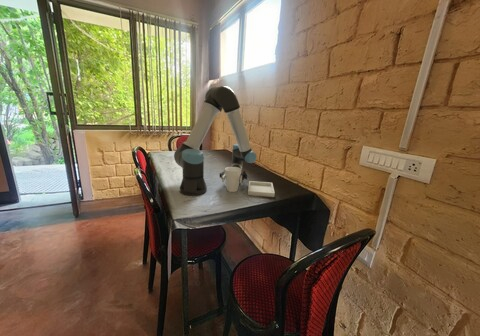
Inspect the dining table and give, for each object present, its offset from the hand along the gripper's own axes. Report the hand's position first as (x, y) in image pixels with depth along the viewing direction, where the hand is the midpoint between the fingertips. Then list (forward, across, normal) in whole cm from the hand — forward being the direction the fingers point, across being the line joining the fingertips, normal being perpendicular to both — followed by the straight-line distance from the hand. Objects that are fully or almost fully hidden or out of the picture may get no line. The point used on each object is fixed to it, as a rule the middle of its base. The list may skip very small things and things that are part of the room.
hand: (231, 180), depth 114 cm
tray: (-7, -17, -8) cm, 20 cm away
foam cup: (-4, 0, -8) cm, 9 cm away
